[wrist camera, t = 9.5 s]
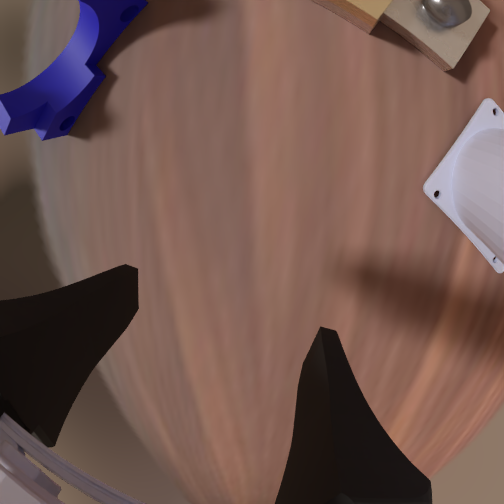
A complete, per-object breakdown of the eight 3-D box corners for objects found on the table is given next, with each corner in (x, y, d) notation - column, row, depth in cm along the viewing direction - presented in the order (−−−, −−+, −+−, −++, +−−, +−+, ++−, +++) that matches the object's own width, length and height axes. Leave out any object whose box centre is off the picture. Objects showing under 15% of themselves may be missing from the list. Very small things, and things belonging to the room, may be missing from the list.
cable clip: (68, 134, 20) (12, 148, 14) (45, 102, 19) (-9, 111, 14) (161, 13, 14) (107, -11, 9) (128, -14, 14) (75, -36, 8)
